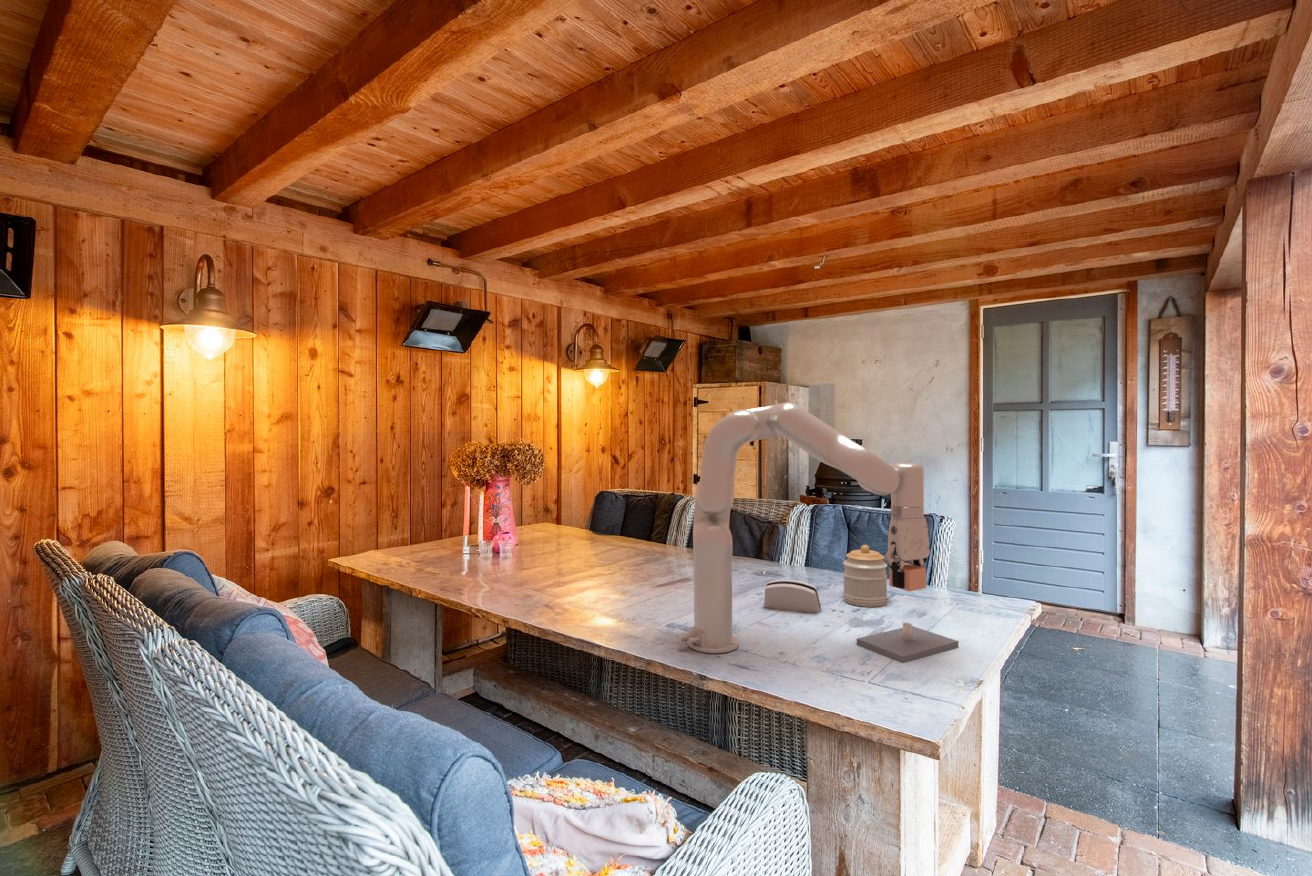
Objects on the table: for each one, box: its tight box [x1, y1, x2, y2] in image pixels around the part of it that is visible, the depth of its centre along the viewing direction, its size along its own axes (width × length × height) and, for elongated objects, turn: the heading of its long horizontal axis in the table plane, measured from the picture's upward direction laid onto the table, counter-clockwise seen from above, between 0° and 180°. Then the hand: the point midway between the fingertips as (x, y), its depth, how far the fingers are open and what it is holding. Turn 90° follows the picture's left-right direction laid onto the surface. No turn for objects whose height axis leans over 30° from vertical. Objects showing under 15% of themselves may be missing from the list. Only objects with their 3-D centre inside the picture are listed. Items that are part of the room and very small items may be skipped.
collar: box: [888, 562, 927, 592], centre depth 159 cm, size 6×6×5 cm
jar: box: [842, 544, 888, 608], centre depth 198 cm, size 13×13×18 cm
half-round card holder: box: [763, 579, 822, 614], centre depth 191 cm, size 17×5×10 cm, turn 66°
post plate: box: [856, 622, 959, 663], centre depth 159 cm, size 20×14×6 cm
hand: (907, 584), depth 159 cm, fingers closed on collar, 6 cm apart
